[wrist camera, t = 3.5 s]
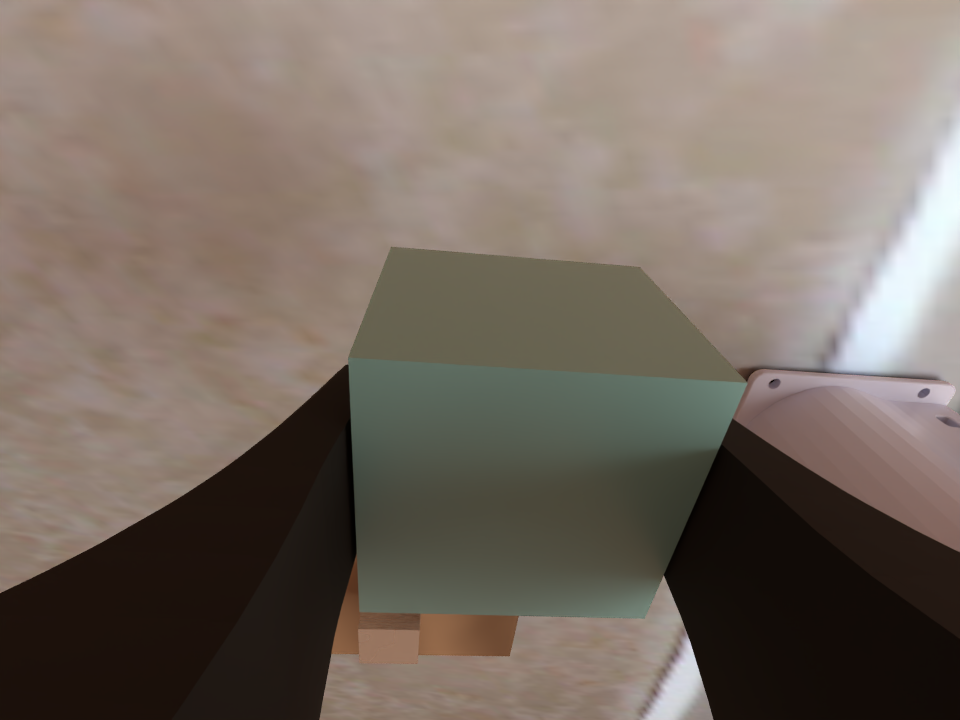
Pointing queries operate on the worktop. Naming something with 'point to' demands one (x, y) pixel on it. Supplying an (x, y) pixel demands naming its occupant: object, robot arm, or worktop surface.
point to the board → (433, 630)
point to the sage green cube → (526, 435)
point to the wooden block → (389, 637)
